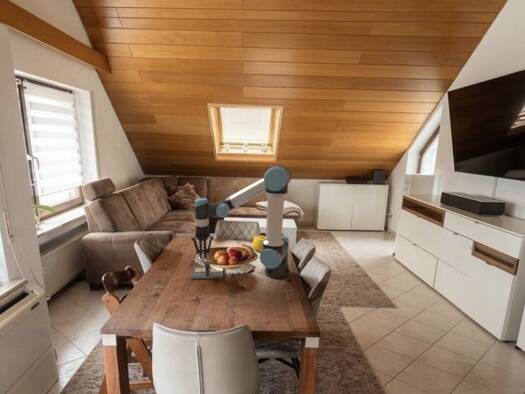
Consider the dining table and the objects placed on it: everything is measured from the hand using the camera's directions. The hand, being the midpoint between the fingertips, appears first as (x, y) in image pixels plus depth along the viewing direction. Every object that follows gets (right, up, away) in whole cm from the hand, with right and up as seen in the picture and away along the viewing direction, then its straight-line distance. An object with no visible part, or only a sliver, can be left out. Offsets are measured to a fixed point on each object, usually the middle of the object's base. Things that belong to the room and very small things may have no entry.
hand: (203, 263), depth 181 cm
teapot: (+34, +1, +38) cm, 51 cm away
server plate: (+3, -6, -1) cm, 6 cm away
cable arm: (0, 0, -3) cm, 3 cm away
